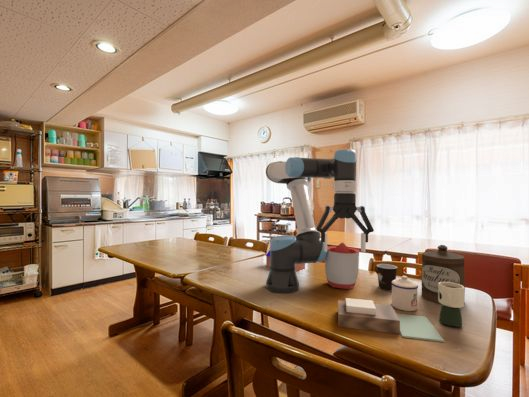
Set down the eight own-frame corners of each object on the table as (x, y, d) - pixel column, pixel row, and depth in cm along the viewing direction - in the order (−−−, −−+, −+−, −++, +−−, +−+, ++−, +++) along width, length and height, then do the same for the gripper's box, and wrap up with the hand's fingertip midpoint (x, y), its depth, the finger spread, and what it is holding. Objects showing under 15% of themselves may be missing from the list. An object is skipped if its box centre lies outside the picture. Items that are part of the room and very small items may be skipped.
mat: (402, 337, 81) (402, 335, 81) (391, 314, 97) (391, 313, 97) (444, 342, 79) (444, 340, 79) (425, 318, 94) (425, 316, 94)
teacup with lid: (417, 314, 98) (417, 281, 97) (389, 308, 102) (389, 277, 102) (419, 302, 108) (419, 273, 108) (393, 298, 113) (394, 269, 112)
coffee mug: (399, 292, 120) (399, 269, 120) (378, 290, 121) (378, 268, 121) (392, 283, 131) (392, 262, 131) (373, 282, 133) (373, 261, 133)
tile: (346, 311, 90) (346, 305, 90) (345, 303, 96) (345, 298, 96) (375, 314, 87) (375, 308, 87) (372, 306, 94) (372, 300, 94)
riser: (338, 326, 88) (338, 314, 88) (337, 311, 99) (338, 300, 99) (399, 333, 83) (399, 320, 83) (391, 316, 95) (391, 305, 95)
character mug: (439, 315, 96) (440, 278, 96) (464, 321, 92) (465, 283, 92) (435, 327, 88) (436, 286, 88) (462, 334, 83) (463, 291, 83)
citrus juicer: (356, 280, 135) (358, 240, 135) (360, 292, 119) (361, 247, 118) (324, 277, 139) (325, 238, 139) (323, 288, 123) (324, 244, 122)
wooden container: (416, 298, 113) (417, 245, 112) (427, 289, 123) (427, 240, 123) (460, 309, 102) (461, 250, 102) (467, 298, 113) (468, 245, 112)
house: (293, 273, 148) (293, 252, 147) (265, 267, 161) (265, 247, 160) (305, 269, 157) (306, 249, 156) (278, 263, 170) (278, 244, 170)
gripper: (311, 192, 96) (311, 252, 96) (383, 192, 95) (383, 253, 95) (308, 192, 103) (308, 248, 104) (375, 193, 103) (375, 249, 103)
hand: (344, 251), depth 99 cm, fingers open, 13 cm apart
